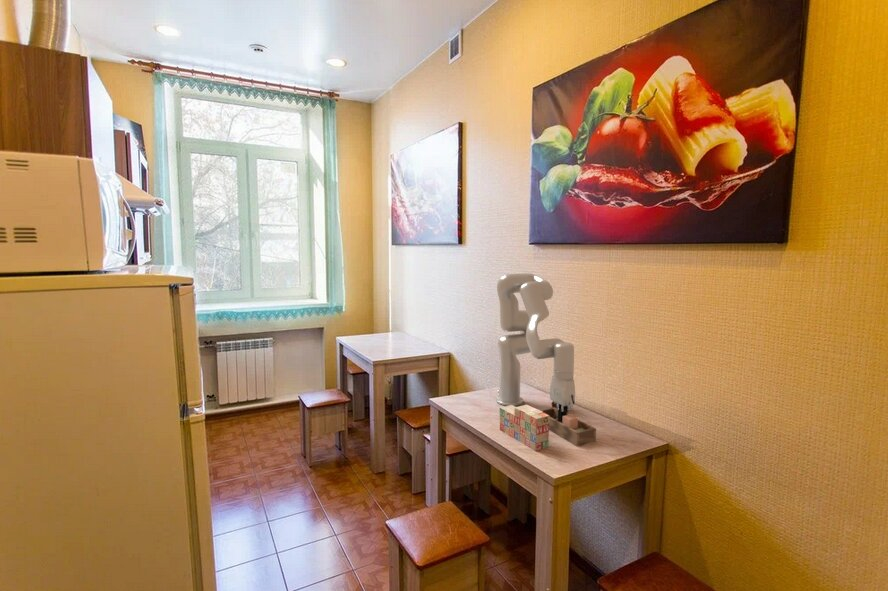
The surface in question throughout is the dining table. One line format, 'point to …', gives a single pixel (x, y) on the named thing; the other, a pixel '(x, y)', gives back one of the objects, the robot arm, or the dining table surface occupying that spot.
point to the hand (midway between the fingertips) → (562, 419)
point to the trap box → (570, 429)
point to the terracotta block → (570, 421)
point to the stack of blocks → (526, 425)
